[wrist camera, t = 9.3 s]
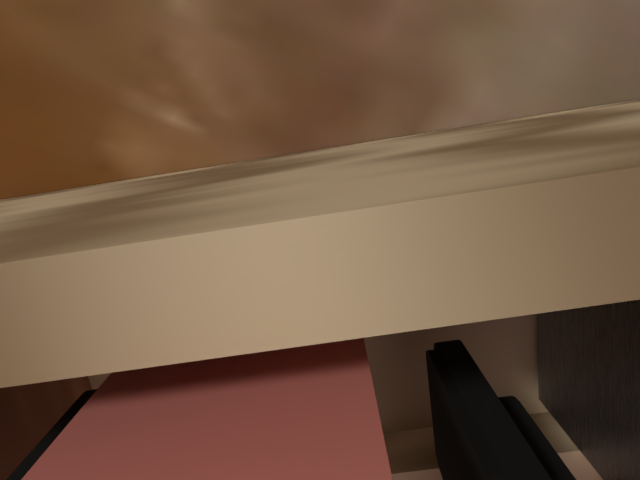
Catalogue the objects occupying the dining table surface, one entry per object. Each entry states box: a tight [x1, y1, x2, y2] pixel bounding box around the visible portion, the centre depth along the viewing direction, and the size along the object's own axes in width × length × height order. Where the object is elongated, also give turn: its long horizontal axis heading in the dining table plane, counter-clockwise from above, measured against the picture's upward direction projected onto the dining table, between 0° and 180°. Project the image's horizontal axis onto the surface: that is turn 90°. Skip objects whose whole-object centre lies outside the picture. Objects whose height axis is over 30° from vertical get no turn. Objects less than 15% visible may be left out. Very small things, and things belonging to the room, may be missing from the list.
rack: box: [0, 100, 640, 480], centre depth 9 cm, size 26×11×12 cm, turn 99°
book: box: [21, 338, 392, 480], centre depth 8 cm, size 4×7×11 cm, turn 9°
